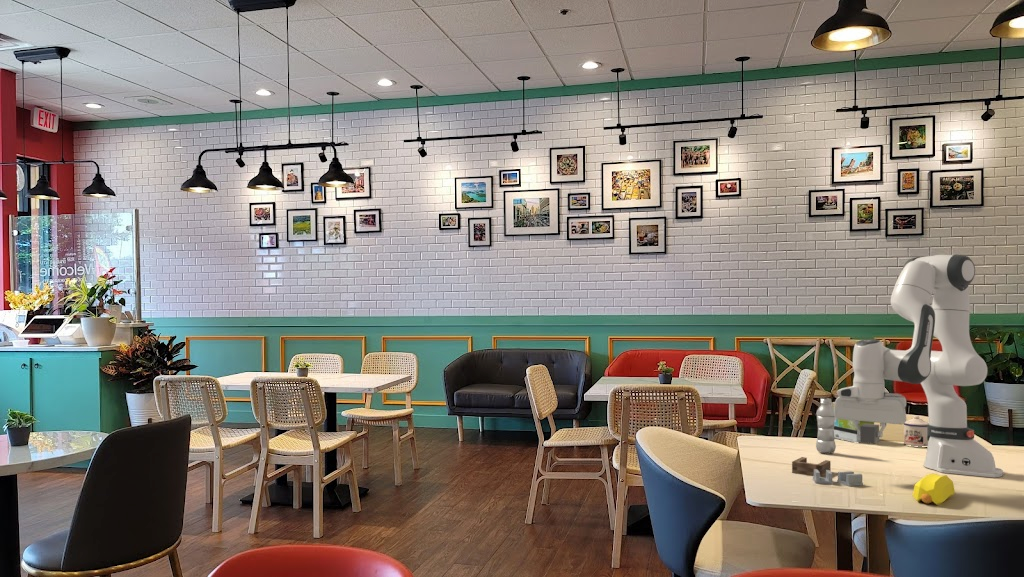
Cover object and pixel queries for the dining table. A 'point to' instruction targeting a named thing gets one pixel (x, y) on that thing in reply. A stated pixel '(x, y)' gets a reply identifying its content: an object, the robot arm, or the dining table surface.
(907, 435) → the teacup with lid
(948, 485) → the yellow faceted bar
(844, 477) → the clip
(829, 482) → the clip
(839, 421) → the tea box
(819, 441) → the open metal bottle
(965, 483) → the dining table surface
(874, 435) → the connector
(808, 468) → the holder
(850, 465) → the dining table surface
